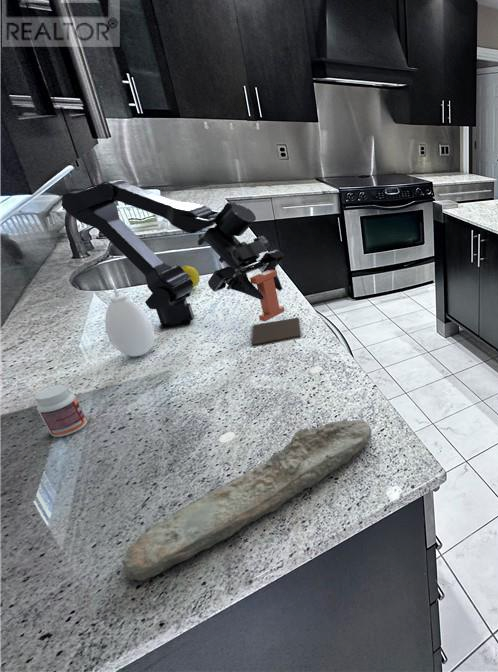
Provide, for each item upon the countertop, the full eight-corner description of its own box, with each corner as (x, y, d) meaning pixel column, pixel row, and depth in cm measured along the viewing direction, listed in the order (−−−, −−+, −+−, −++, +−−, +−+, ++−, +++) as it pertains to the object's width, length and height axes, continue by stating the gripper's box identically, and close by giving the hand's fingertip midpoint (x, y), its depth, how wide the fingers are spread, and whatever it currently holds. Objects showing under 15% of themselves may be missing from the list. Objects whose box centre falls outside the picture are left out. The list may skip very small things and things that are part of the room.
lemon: (206, 286, 134) (200, 263, 130) (192, 292, 129) (185, 269, 125) (191, 284, 134) (184, 262, 131) (176, 291, 129) (169, 268, 126)
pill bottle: (93, 423, 76) (76, 387, 73) (61, 440, 72) (41, 403, 69) (77, 416, 78) (60, 380, 74) (44, 433, 74) (24, 396, 70)
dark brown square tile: (252, 345, 103) (252, 344, 102) (254, 326, 111) (253, 324, 111) (300, 336, 108) (300, 335, 107) (298, 318, 116) (298, 317, 116)
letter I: (258, 320, 105) (248, 277, 100) (278, 309, 110) (270, 269, 105) (266, 321, 104) (256, 279, 99) (285, 311, 110) (277, 270, 105)
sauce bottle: (111, 357, 96) (82, 287, 88) (150, 342, 102) (126, 276, 95) (127, 367, 92) (98, 296, 85) (167, 351, 99) (143, 284, 92)
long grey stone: (123, 555, 56) (141, 612, 50) (107, 533, 54) (124, 590, 48) (354, 417, 80) (383, 445, 74) (350, 397, 77) (380, 425, 72)
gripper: (204, 238, 90) (254, 291, 92) (272, 220, 107) (313, 265, 109) (187, 266, 96) (234, 315, 97) (254, 244, 112) (294, 287, 114)
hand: (271, 294), depth 104 cm, fingers closed on letter I, 5 cm apart
